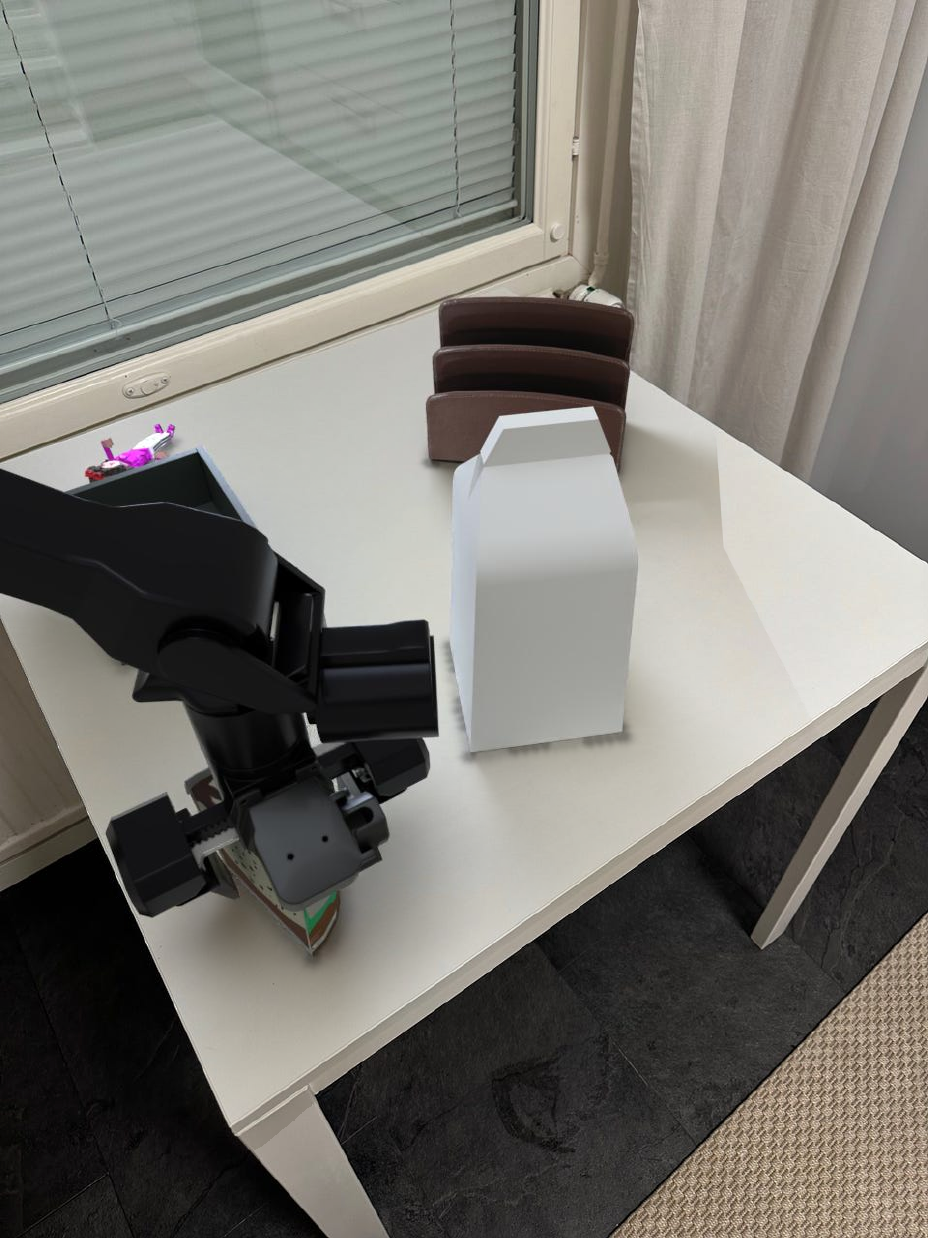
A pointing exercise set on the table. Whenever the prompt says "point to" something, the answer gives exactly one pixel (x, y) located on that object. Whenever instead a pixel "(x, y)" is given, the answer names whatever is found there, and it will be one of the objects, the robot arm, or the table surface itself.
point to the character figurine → (130, 455)
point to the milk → (541, 583)
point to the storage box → (170, 486)
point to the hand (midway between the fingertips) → (295, 861)
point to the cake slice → (303, 925)
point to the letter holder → (525, 367)
